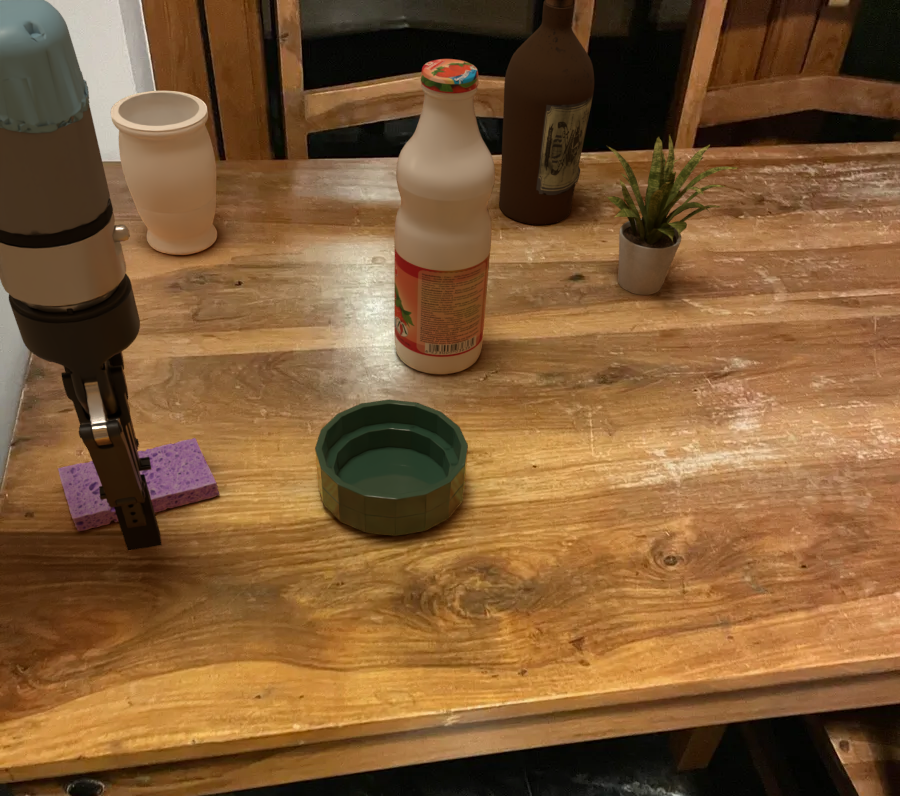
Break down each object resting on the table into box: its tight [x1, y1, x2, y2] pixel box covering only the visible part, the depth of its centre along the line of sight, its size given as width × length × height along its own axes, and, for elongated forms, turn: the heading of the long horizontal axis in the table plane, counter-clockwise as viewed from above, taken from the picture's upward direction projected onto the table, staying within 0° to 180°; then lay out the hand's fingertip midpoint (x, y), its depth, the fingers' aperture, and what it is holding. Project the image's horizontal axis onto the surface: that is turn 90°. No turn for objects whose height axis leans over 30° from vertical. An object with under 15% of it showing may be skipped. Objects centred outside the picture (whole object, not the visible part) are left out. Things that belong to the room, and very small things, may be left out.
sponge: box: [57, 437, 220, 532], centre depth 83 cm, size 7×13×2 cm, turn 114°
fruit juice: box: [393, 58, 496, 375], centre depth 90 cm, size 9×9×28 cm
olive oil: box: [498, 0, 595, 226], centre depth 113 cm, size 11×11×25 cm
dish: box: [314, 399, 469, 537], centre depth 84 cm, size 13×13×5 cm
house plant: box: [605, 134, 741, 296], centre depth 104 cm, size 14×14×16 cm
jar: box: [110, 90, 218, 256], centre depth 107 cm, size 11×10×15 cm
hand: (144, 541), depth 77 cm, fingers closed
